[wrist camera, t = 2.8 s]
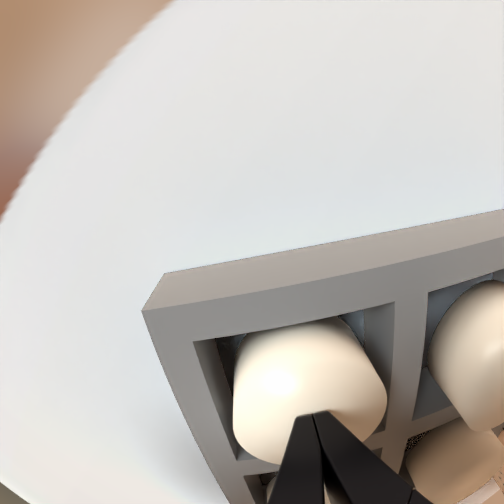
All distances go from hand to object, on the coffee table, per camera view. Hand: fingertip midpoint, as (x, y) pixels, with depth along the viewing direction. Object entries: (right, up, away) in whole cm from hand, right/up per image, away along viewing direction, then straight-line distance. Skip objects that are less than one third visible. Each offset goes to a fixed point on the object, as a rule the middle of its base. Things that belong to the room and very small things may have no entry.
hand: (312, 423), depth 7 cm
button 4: (0, +1, +2) cm, 3 cm away
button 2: (+6, +2, +1) cm, 6 cm away
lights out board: (+6, -1, +4) cm, 7 cm away
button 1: (+7, -4, +3) cm, 9 cm away
